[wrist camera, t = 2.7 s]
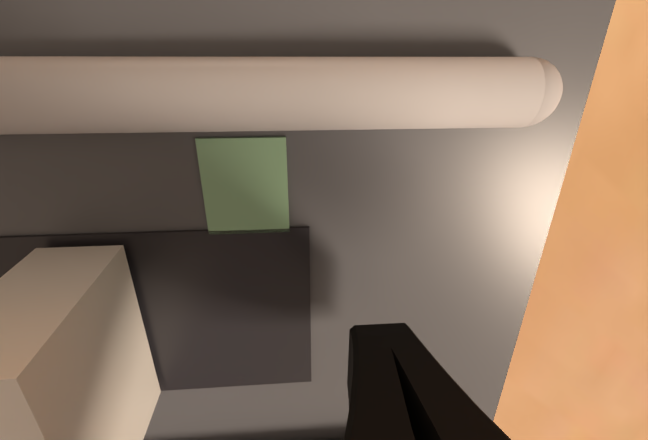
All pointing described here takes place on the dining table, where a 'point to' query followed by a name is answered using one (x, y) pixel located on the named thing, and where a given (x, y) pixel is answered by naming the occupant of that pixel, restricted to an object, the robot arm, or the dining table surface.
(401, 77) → the pair of cream rails
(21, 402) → the lever
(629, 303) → the dining table surface
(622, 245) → the dining table surface
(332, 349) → the box
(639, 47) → the dining table surface
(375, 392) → the robot arm
